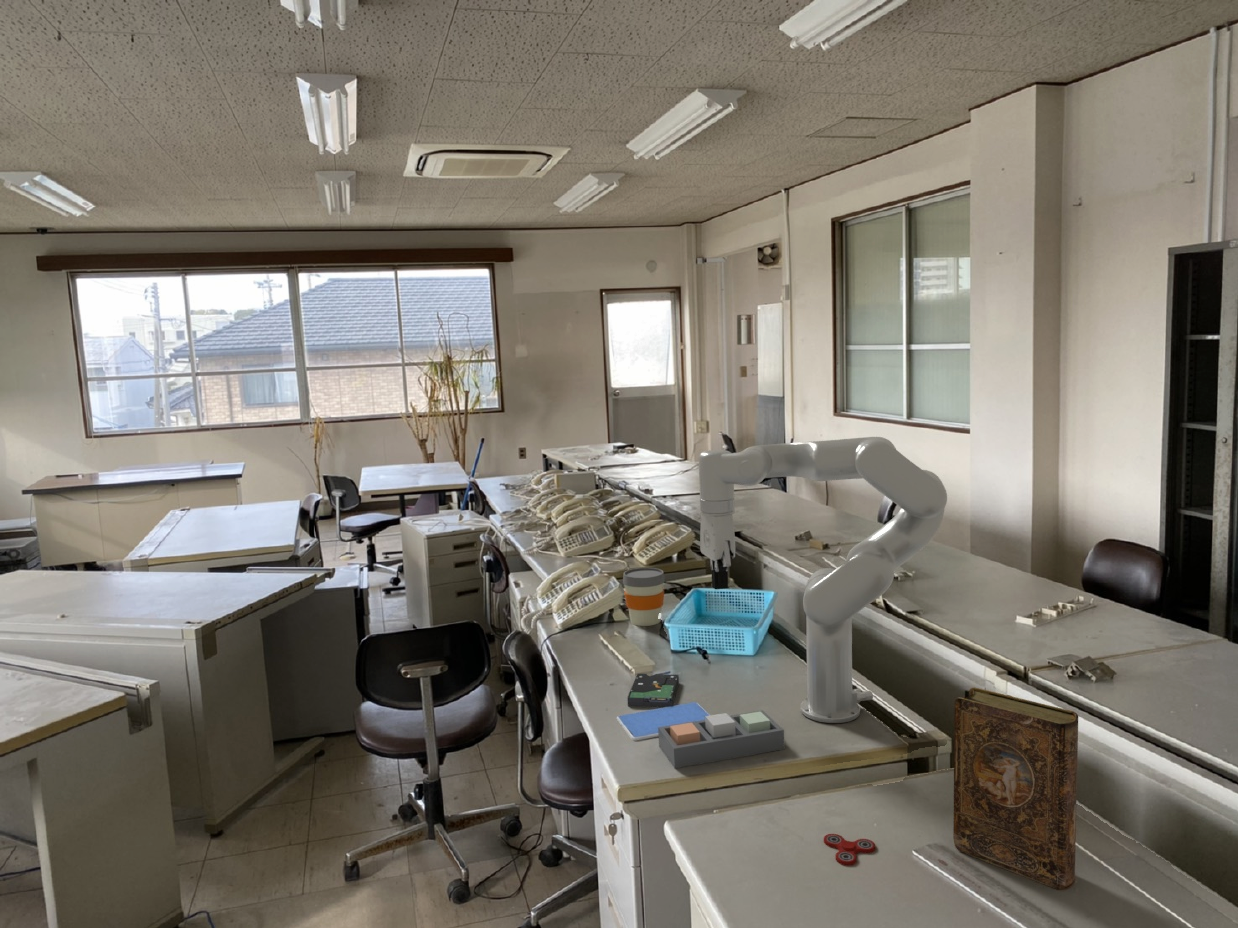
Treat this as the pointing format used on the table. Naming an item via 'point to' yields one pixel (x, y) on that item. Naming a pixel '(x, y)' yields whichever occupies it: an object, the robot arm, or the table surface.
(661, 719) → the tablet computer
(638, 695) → the disk drive
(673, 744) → the grey compartment tray
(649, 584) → the reusable coffee cup
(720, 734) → the grey key
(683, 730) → the terracotta key
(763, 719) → the sage key
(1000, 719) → the book
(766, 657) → the table surface
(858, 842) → the fidget spinner
